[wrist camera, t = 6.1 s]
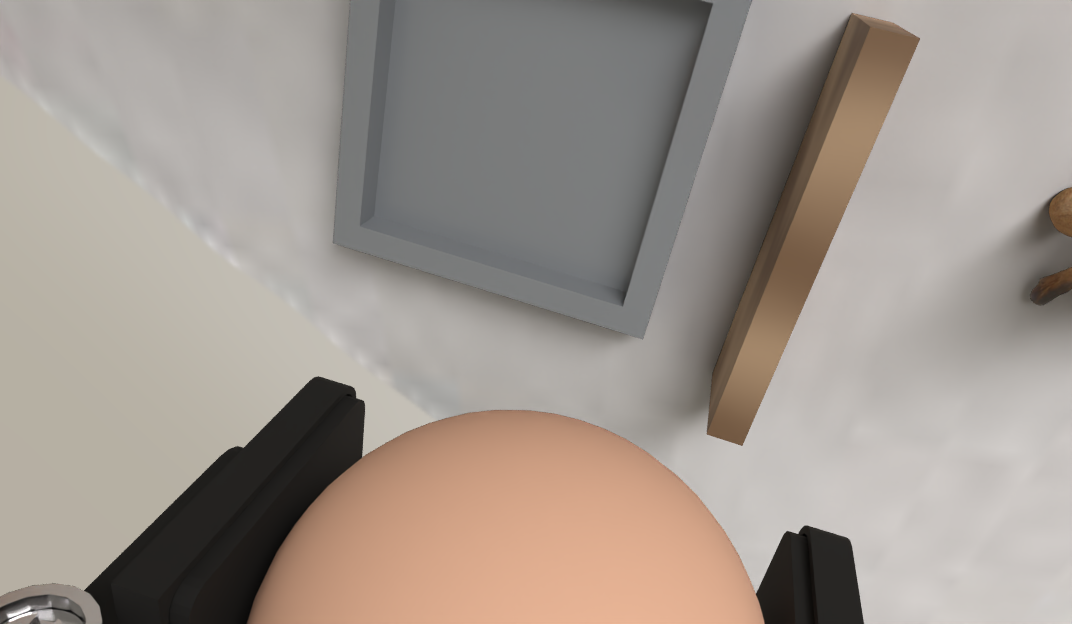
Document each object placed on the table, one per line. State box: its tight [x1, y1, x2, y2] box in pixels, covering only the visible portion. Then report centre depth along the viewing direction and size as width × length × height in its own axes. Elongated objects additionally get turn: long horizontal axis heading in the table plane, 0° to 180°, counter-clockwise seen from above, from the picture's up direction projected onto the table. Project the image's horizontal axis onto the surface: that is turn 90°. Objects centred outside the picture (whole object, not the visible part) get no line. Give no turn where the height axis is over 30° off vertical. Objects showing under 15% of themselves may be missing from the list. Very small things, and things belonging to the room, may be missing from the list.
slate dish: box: [333, 0, 752, 339], centre depth 25 cm, size 12×12×2 cm
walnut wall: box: [707, 13, 920, 446], centre depth 23 cm, size 13×1×4 cm, turn 168°
